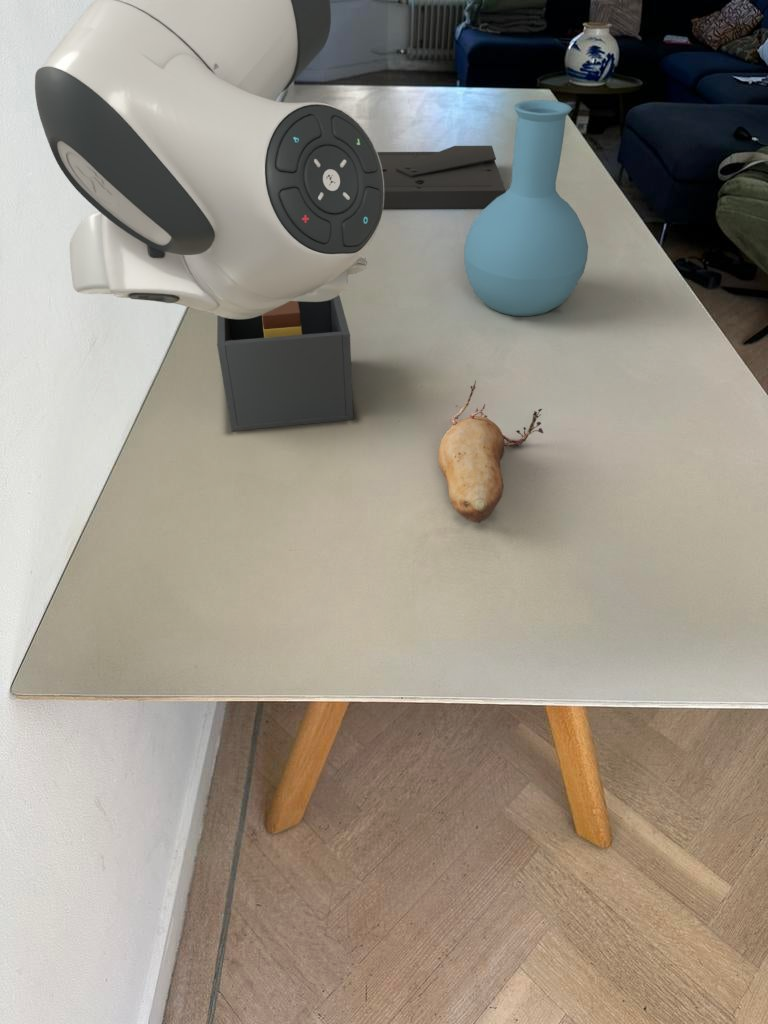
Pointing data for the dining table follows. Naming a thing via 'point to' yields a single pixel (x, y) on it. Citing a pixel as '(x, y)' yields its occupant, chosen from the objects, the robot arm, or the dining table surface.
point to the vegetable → (475, 462)
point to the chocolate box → (282, 321)
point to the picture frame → (441, 178)
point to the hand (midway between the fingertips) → (193, 286)
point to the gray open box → (287, 369)
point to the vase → (529, 224)
